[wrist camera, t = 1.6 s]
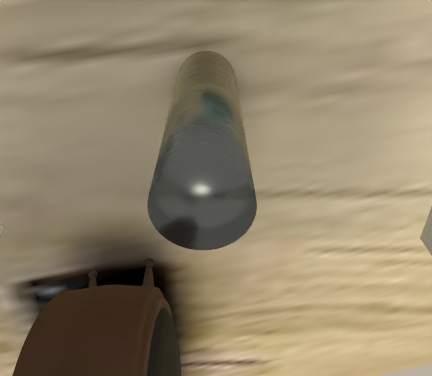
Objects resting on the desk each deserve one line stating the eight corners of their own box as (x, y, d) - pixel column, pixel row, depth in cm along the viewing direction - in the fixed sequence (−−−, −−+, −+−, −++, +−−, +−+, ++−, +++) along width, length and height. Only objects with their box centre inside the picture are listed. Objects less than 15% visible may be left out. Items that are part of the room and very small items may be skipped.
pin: (179, 106, 22) (151, 249, 12) (177, 50, 20) (143, 159, 10) (233, 107, 22) (252, 250, 12) (236, 51, 20) (261, 160, 10)
